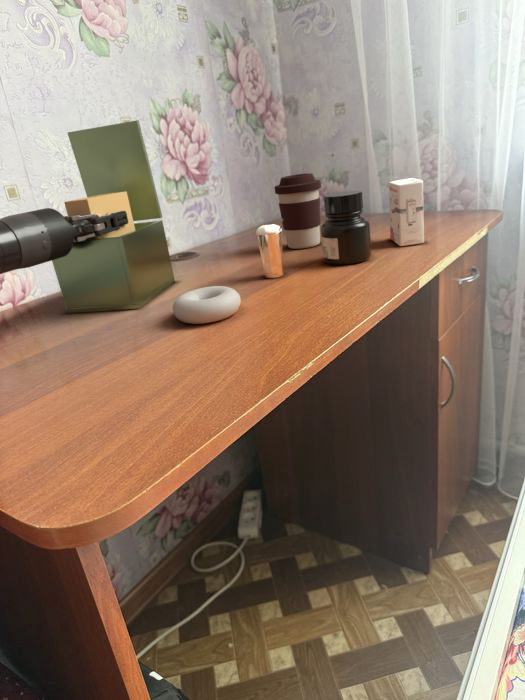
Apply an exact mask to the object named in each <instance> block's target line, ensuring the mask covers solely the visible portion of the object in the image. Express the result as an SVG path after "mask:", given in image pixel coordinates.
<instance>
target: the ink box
mask: <svg viewBox="0 0 525 700" xmlns="http://www.w3.org/2000/svg"><path fill="white" fill-rule="evenodd" d="M388 196H389V197H388V198H389V199H388V201H389V238H390V240H391V241H393V242H394V243H395V244H397V245H398V246H399V247H406V246H413V245H420V244H425V225H424V223H425V219H424V216H425V215H424V181H423V179H419V178H415V177H409V178H403V179H398V180H392V181H388Z"/></svg>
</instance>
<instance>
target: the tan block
mask: <svg viewBox="0 0 525 700" xmlns="http://www.w3.org/2000/svg"><path fill="white" fill-rule="evenodd" d="M63 203H64V207H65V210H66V214H67V216H74V215H79V216H83V215H90V214H98V216H100V215H105V214H106V213H109V214H111V213H116V212H120V211H126V213H127V217H128V224H126V225H122V226H119V227H120V229H118V230H117V231H112V232H109V233H106V234H103V235H101V236H95V237H90V238H87V239H86V240H91V239H101V238H110V237H120V236H122V235H125V234H127V233H129V232H132V231H134V230H135V226H134V223H135V221H133V217H132V213H131V209H130V204H129V200H128V196H127V192H117V193H109V194H102V195H97V196H92V197H87V196H86V197H82V198H76V199H72V200H71V199H70V200H67V201H63ZM92 219H93V218H88V220H89V221H90V223H91V224H92V222H91V220H92ZM91 233H94V231H92V232H91Z"/></svg>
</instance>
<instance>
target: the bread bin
mask: <svg viewBox="0 0 525 700" xmlns="http://www.w3.org/2000/svg"><path fill="white" fill-rule="evenodd" d="M134 226H135V230H134V231H132V232H129V233H127V234H125V235H122V236H120V237H110V238H101V239H91V240H84V241H79V242H75V241H73V246H72V249H71V251H70V253H69V254H68V255H66V256H65V257H62V258H58V259H55V260H52V261H51V262H52V265H53V269H54V272H55V274H56V275H55V276H56V278H57V283H58V286H59V288H60V292H61V296H62V298H63V301H64V305H65V308H66V312H67V314H77V313H90V312H91V313H92V312H107V311H121V310H122V311H127V310H139V309H141V308H142V307H143V306H144V305H146V304H147V303H149V302H150V301H152V300H153V299H154V298H156V297H157V296H158V295H160V294H161V293H163V292H164V291H166V290H167V289H168V288H170V287H171V286H173V285H174V284H175V283H176V280H175V279H176V278H175V274H174V270H173V265H172V260H171V255H170V250H169V246H168V241H167V236H166V232H165V227H164V226H165V225H164V221H163V220H162V219H161V220H151V221H143V222H142V221H141V222H134Z"/></svg>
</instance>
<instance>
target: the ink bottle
mask: <svg viewBox="0 0 525 700" xmlns="http://www.w3.org/2000/svg"><path fill="white" fill-rule="evenodd" d="M363 201H364V200H363V191H362V190H346V191H338V192H332V193H327V194H324V195H323V205H324V213H325V215H324V216H325V217H326V218H327V219H326V220H325V221H324V223H323V224H322V225H321V227H320V238H321V246H322V247H321V248H322V258H323V261H324V263H326V264H328V265H335V266H336V265H337V266H339V265H351V264H357V263H362V262H365V261H367V260H369V259H370V258H371V257H372V246H371V245H372V243H371V242H372V241H371V224H370V222H369V220H368V219H367V218H365V217H364V216H363V215H362V214H363V212H364V202H363Z"/></svg>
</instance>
